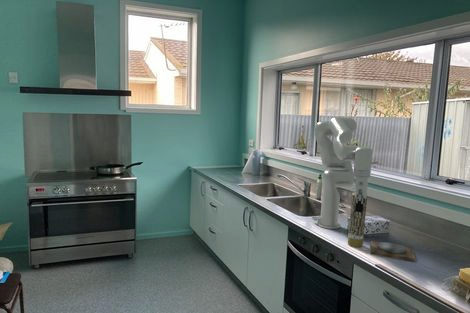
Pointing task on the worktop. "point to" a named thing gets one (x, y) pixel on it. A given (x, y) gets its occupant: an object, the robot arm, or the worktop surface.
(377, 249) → the brown tray
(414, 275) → the worktop surface
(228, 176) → the worktop surface
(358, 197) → the robot arm
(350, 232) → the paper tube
